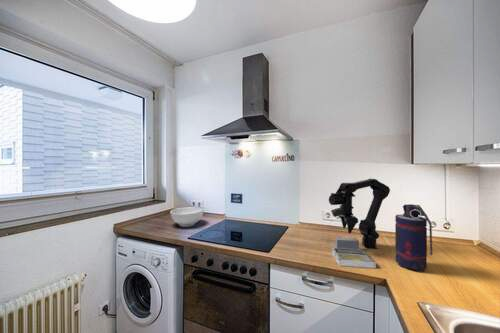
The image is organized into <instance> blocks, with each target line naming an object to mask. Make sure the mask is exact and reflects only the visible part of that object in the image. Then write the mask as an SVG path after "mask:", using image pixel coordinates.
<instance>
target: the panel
mask: <svg viewBox="0 0 500 333" xmlns="http://www.w3.org/2000/svg"><path fill="white" fill-rule="evenodd" d="M334 242H335V244H334V248H350V249H360V240H359V239H357V238H355V237H336V236H335V237H334Z"/></svg>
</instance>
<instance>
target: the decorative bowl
mask: <svg viewBox="0 0 500 333" xmlns="http://www.w3.org/2000/svg"><path fill="white" fill-rule="evenodd" d="M204 211H205V209H204V208H203V207H198V206H197V207H196V206H186V207H178V208H174V209H172V210H170V211H169V212H170V217H171V218H172V220H173V221H174V223H176V224H178V225H179V226H180V227H182V228H188V227H189V228H190V227H193V226H195V225H196V223H198V222H199V221H200V220H201V219H202V216H203V214H204Z"/></svg>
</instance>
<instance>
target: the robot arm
mask: <svg viewBox="0 0 500 333" xmlns="http://www.w3.org/2000/svg"><path fill="white" fill-rule="evenodd" d="M368 187H370V189H371V190H372V197H373V198H372V201H371V203H370V205H369V208H368V211H367V214H366V217H365V218H364V219H360V221H359V219H358V217H356V216H355V215H354V213H353V209H354V206H353V198H354V197H355V198H356V195H355V194H354V193H355V192H357V190H360V189H363V188H368ZM390 192H391V189H390V186H388V185H386V184H384V183H383V182H381V181H379V180H377V179H376V178H367V179H363V180H360V181H355V182H341V183H340V185H339V186H338V189H337V190H336V192H331V193H330V195H329V197H328V203H329V204H330V206H333V205H334V206H339V207H338V208H334V209H331V210H330V212H331V214H332V216H333V217H334V218H336V217H339V219H340V220H341V223H342V224H341V225H342V228H343V229H346V227H347V231H348V232H347V233H348V234H351V233H352V231H353V230H354V228H355V227H356V225H357V224H358V223H359V224H358V230H359V233H360V235H362V237H361V238H362V239H361V244H362V245H361V246H363V247H364V248H366V249H378V247H377V239H379V237H380V234H379V233H378V232H377V231H376V229H377V225H376V220H377V217H378V214H379V211H380V208H381V206H382V203H383V201H384V200H385V199H387V198H388V196H389V194H390Z"/></svg>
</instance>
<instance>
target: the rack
mask: <svg viewBox="0 0 500 333" xmlns="http://www.w3.org/2000/svg"><path fill="white" fill-rule="evenodd" d="M330 253H331V255H332V256H333V258H334V259H335V260H336V263H337V264H338V266H340V267H353V268H366V269H376V268H377V262H376V261H375V260H374V259H373V258H372V257H371V256H370V255H369V254H368V253H367V252H366V251H365V250H364V249H361V248H359V249H350V248H336V247H331V252H330Z"/></svg>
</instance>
